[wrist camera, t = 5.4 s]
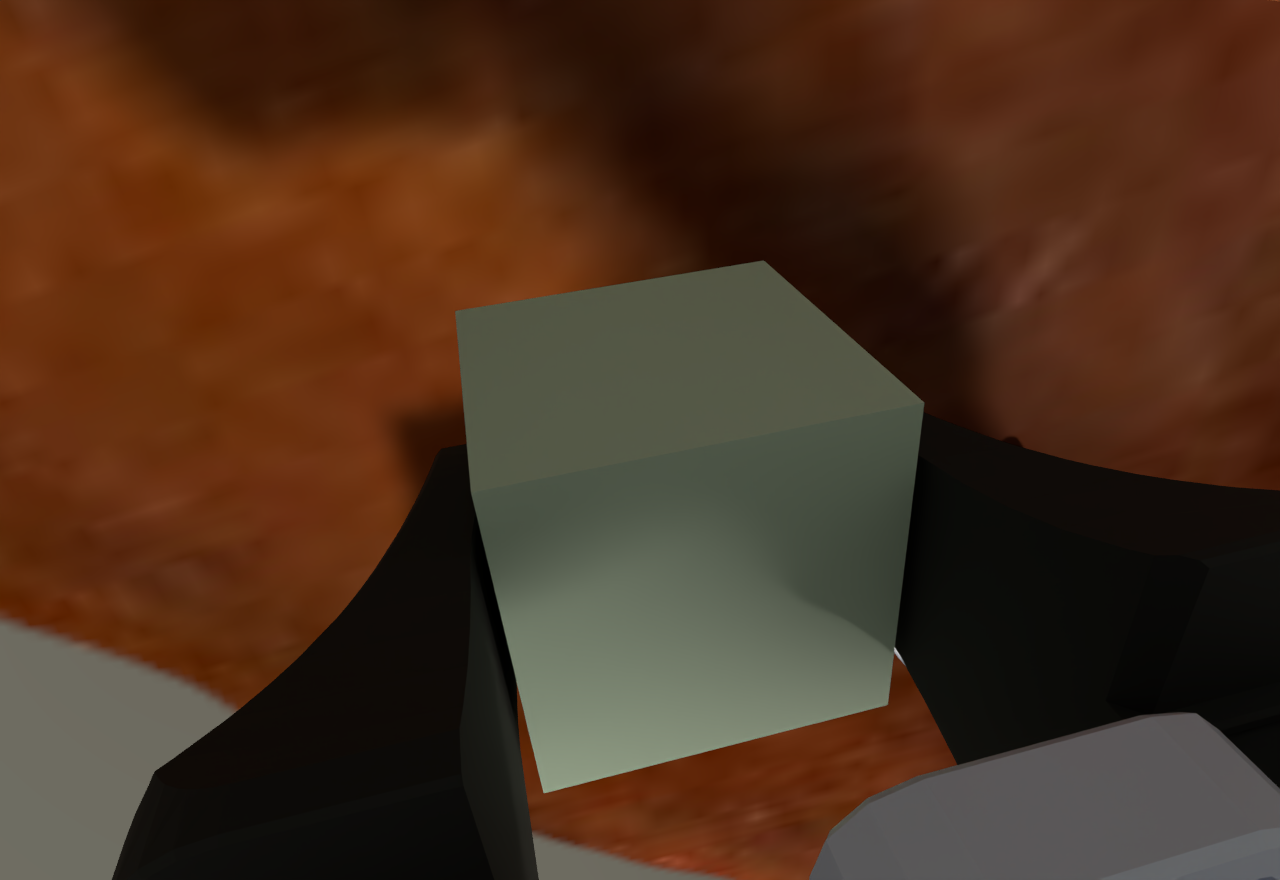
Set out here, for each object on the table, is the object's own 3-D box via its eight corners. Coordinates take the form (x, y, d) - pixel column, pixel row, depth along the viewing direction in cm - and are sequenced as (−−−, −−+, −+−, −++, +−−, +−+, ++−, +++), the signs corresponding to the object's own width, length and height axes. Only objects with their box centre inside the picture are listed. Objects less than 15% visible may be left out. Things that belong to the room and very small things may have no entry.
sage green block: (763, 505, 16) (887, 704, 11) (510, 559, 15) (543, 793, 11) (763, 260, 13) (924, 402, 9) (455, 311, 12) (471, 493, 8)
